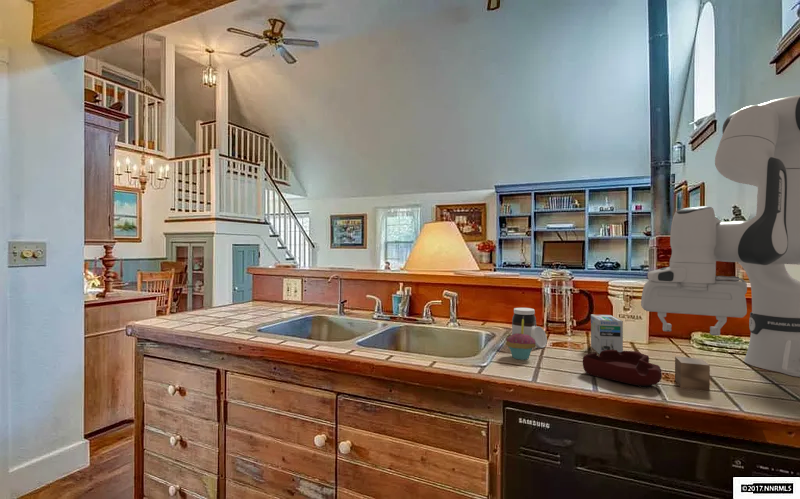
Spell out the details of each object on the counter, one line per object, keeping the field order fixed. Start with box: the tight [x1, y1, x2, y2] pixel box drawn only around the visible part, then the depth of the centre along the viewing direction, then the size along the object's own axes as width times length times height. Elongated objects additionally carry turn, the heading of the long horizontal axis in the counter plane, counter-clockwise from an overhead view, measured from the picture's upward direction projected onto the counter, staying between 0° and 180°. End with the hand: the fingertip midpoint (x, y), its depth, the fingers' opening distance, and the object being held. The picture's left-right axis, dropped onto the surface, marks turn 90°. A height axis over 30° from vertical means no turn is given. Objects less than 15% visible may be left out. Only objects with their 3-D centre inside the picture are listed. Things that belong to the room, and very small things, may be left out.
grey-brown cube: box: [674, 356, 711, 392], centre depth 94 cm, size 6×6×6 cm
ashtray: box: [582, 350, 663, 389], centre depth 101 cm, size 18×16×5 cm
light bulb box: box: [590, 314, 624, 355], centre depth 125 cm, size 11×7×11 cm, turn 168°
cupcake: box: [505, 316, 537, 361], centre depth 118 cm, size 9×8×12 cm
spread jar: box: [511, 307, 548, 349], centre depth 133 cm, size 12×11×12 cm
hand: (690, 333), depth 94 cm, fingers open, 8 cm apart
